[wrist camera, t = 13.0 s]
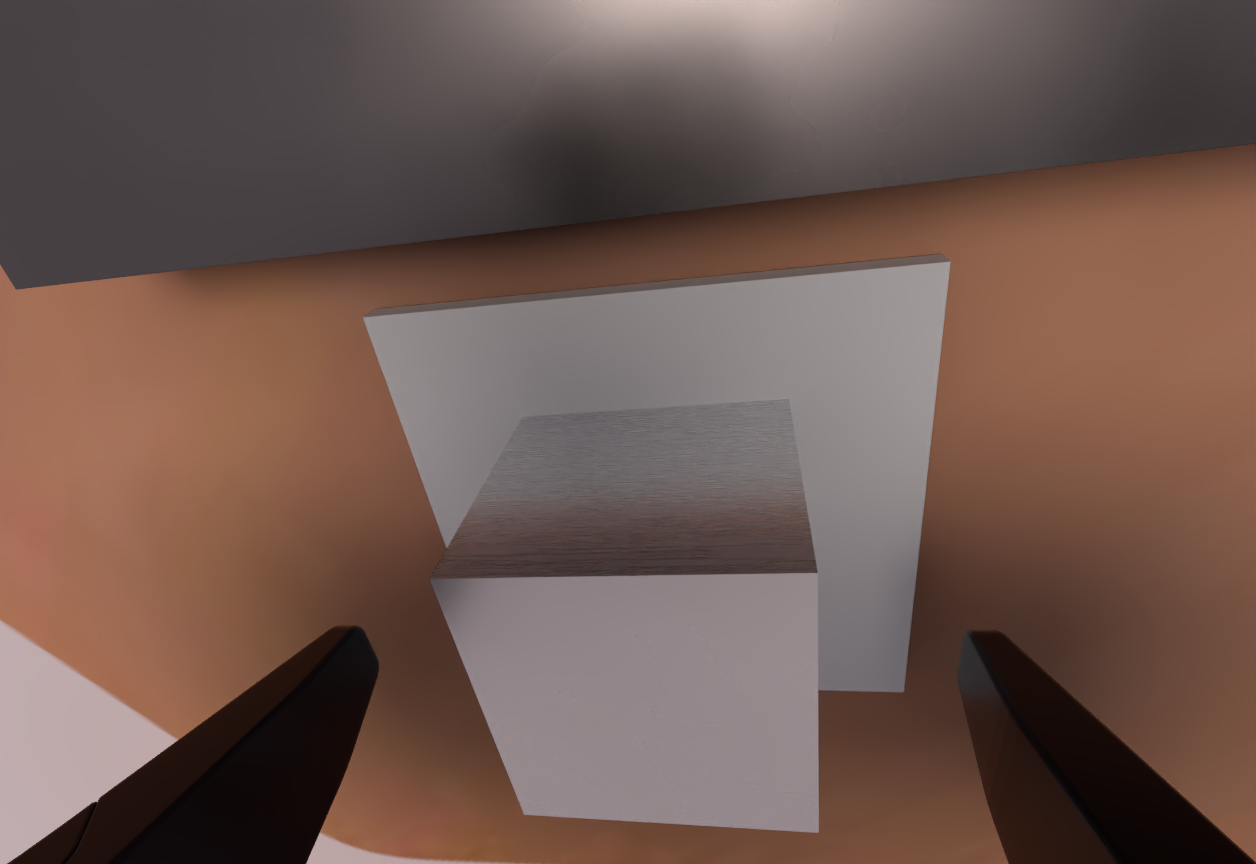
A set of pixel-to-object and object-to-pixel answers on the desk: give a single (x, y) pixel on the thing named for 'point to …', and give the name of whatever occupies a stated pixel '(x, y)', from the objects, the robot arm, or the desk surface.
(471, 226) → the dark grey base plate
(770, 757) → the light grey block
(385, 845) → the desk surface
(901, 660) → the felt mat
